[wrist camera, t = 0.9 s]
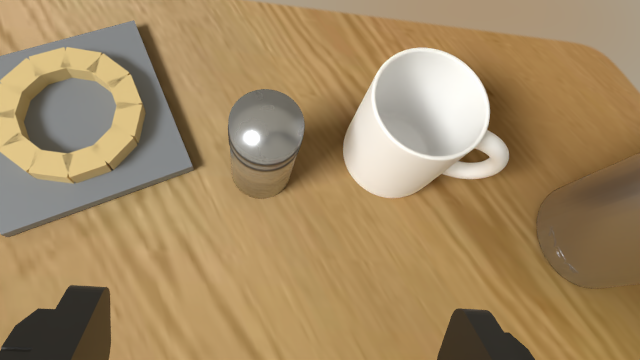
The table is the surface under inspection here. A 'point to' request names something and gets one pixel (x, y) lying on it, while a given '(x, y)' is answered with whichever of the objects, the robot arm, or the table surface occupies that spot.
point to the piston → (264, 141)
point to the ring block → (81, 127)
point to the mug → (421, 125)
